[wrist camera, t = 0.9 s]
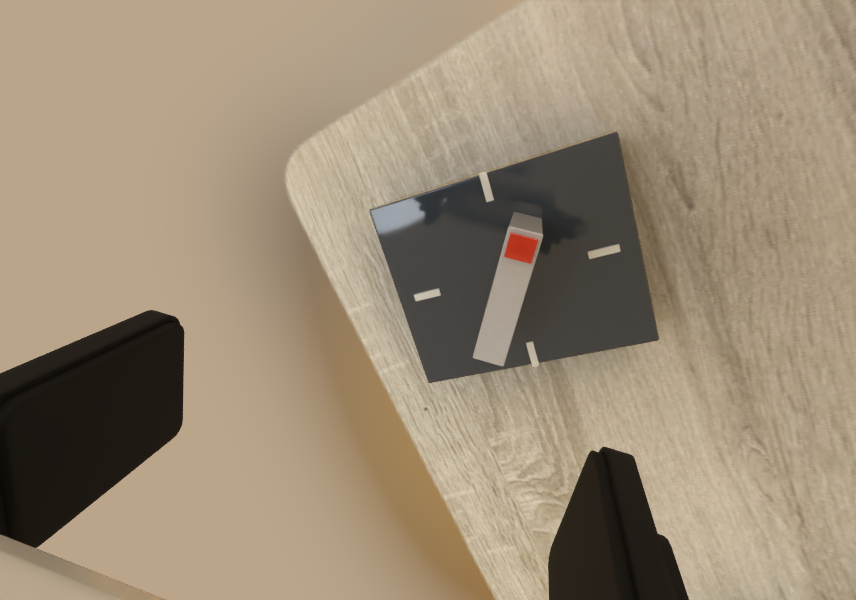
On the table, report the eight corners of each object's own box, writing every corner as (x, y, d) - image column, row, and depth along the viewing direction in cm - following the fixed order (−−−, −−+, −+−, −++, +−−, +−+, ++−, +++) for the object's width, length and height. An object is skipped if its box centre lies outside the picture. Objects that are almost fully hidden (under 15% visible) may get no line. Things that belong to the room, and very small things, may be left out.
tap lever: (508, 332, 24) (503, 369, 20) (481, 324, 24) (471, 360, 20) (542, 218, 22) (544, 235, 18) (513, 211, 22) (508, 227, 18)
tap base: (439, 361, 29) (428, 386, 26) (385, 200, 26) (366, 208, 23) (646, 320, 25) (661, 344, 22) (607, 129, 23) (618, 128, 20)
